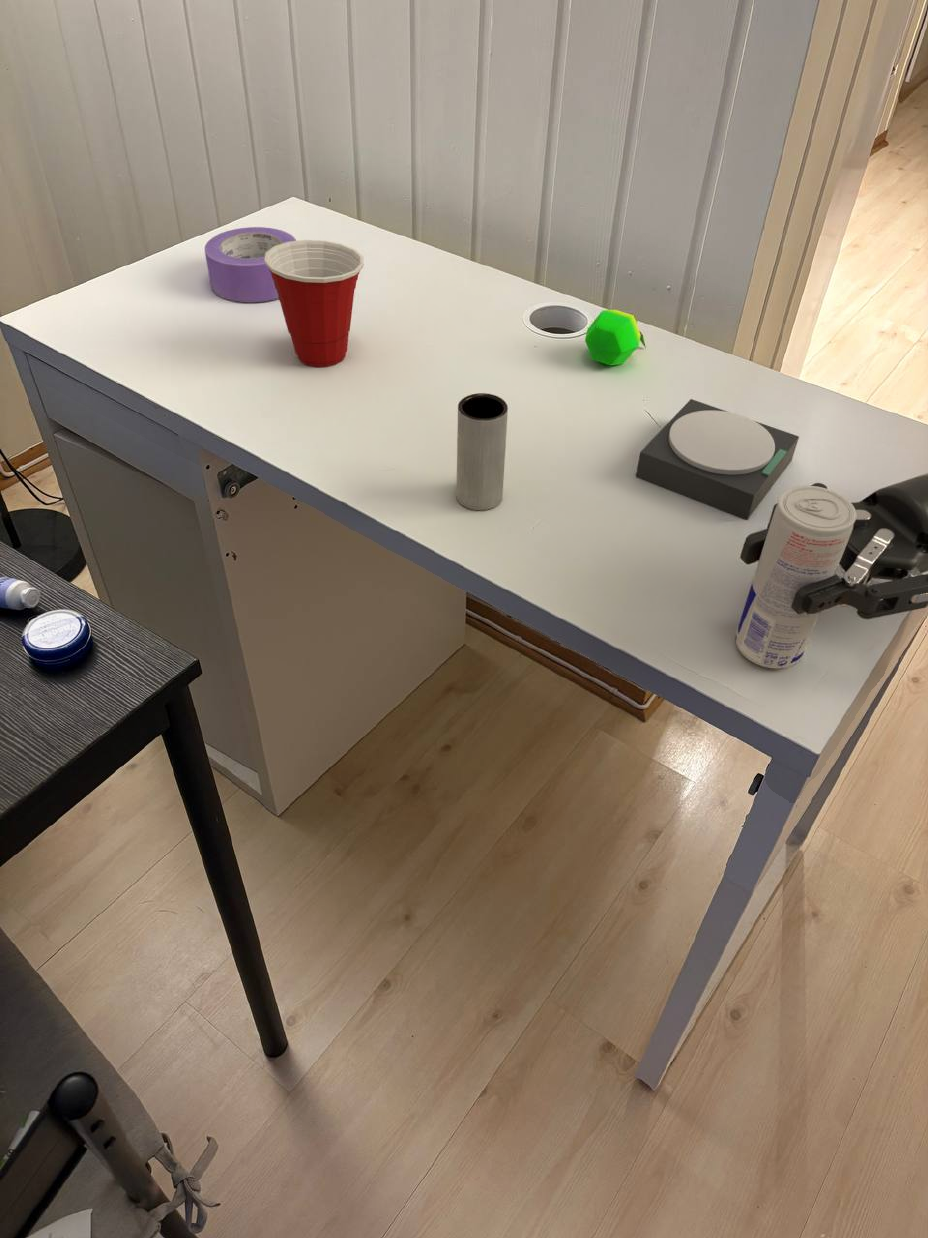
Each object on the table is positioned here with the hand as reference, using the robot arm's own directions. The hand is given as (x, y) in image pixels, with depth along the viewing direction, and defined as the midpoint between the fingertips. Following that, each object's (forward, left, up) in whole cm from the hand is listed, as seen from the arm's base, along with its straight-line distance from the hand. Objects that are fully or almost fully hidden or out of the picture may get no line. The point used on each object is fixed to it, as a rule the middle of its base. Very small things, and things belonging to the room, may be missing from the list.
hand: (770, 576), depth 73 cm
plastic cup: (+60, -17, -9) cm, 63 cm away
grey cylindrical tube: (+30, -5, -9) cm, 32 cm away
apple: (+32, -37, -9) cm, 50 cm away
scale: (+13, -23, -9) cm, 28 cm away
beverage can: (-1, -2, -9) cm, 10 cm away
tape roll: (+79, -26, -9) cm, 83 cm away
